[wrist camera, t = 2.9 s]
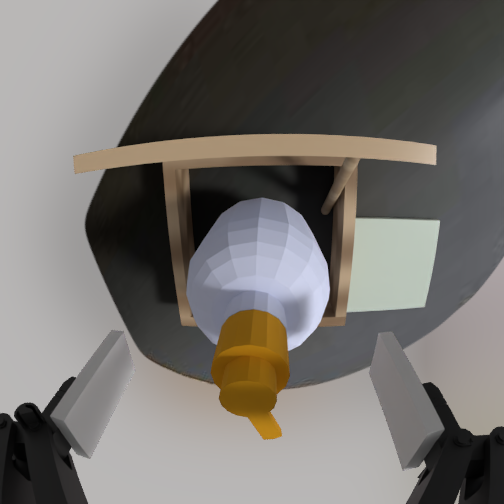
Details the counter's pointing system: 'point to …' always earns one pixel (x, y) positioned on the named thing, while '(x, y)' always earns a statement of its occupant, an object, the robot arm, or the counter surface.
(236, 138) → the lid
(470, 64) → the counter surface
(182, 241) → the frame
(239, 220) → the soap bottle
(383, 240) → the trivet
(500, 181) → the counter surface
